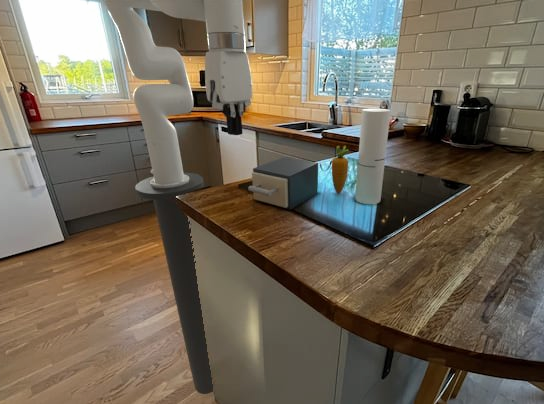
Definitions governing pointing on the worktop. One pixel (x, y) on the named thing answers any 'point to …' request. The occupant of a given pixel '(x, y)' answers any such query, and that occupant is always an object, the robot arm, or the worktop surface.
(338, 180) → the carrot
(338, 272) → the worktop surface
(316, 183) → the cabinet
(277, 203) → the drawer
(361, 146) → the cylindrical container
